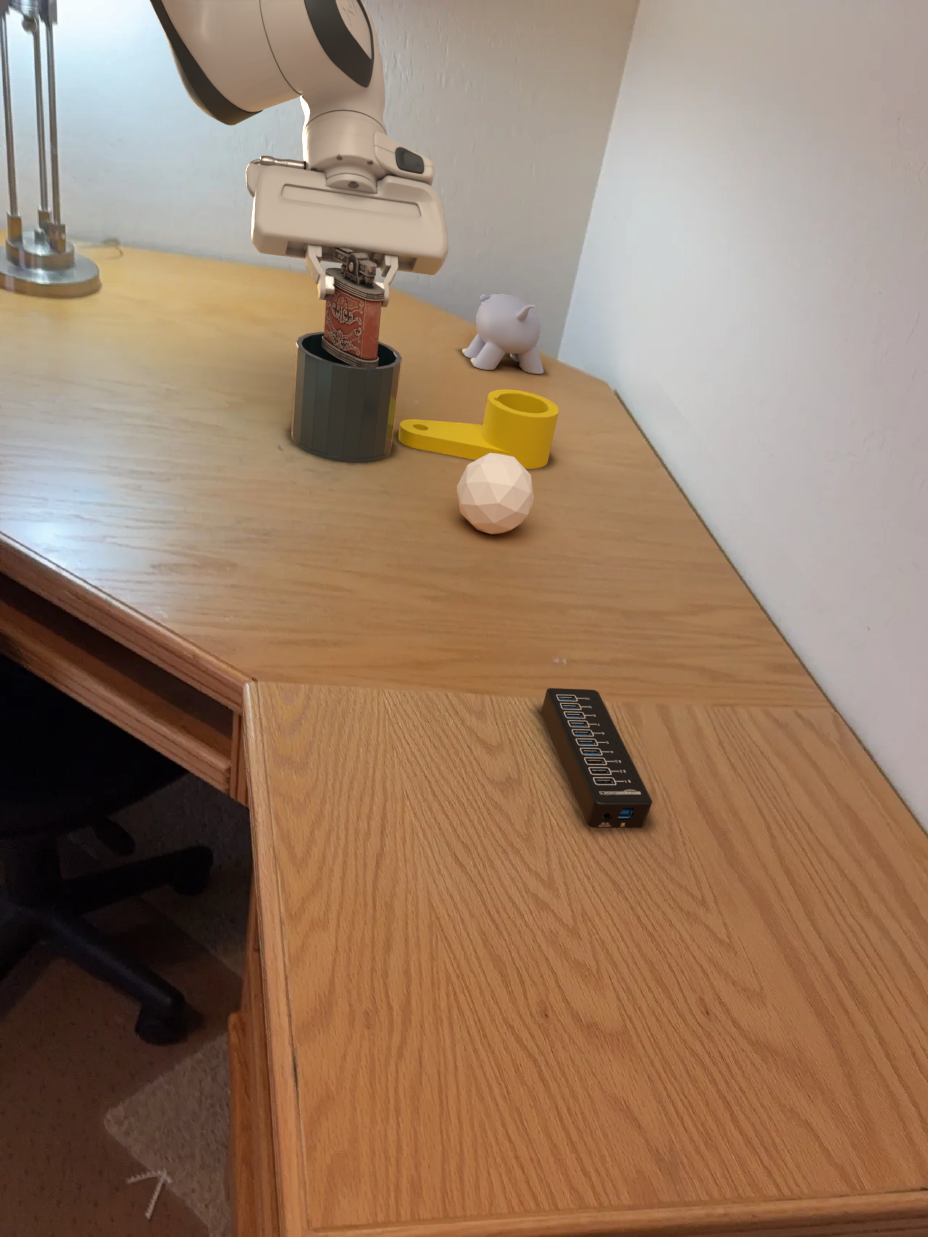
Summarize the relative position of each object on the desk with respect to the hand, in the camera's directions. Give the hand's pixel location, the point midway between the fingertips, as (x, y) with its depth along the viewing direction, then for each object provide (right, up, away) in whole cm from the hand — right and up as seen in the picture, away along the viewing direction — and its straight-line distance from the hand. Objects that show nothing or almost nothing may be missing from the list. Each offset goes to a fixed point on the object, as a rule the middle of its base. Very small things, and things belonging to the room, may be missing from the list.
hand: (354, 300), depth 109 cm
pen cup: (-3, -11, +10) cm, 15 cm away
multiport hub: (+21, -51, -28) cm, 62 cm away
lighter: (-1, -4, +4) cm, 6 cm away
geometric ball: (+14, -24, 0) cm, 27 cm away
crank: (+12, -9, +16) cm, 22 cm away
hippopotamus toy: (+16, +14, +44) cm, 48 cm away
